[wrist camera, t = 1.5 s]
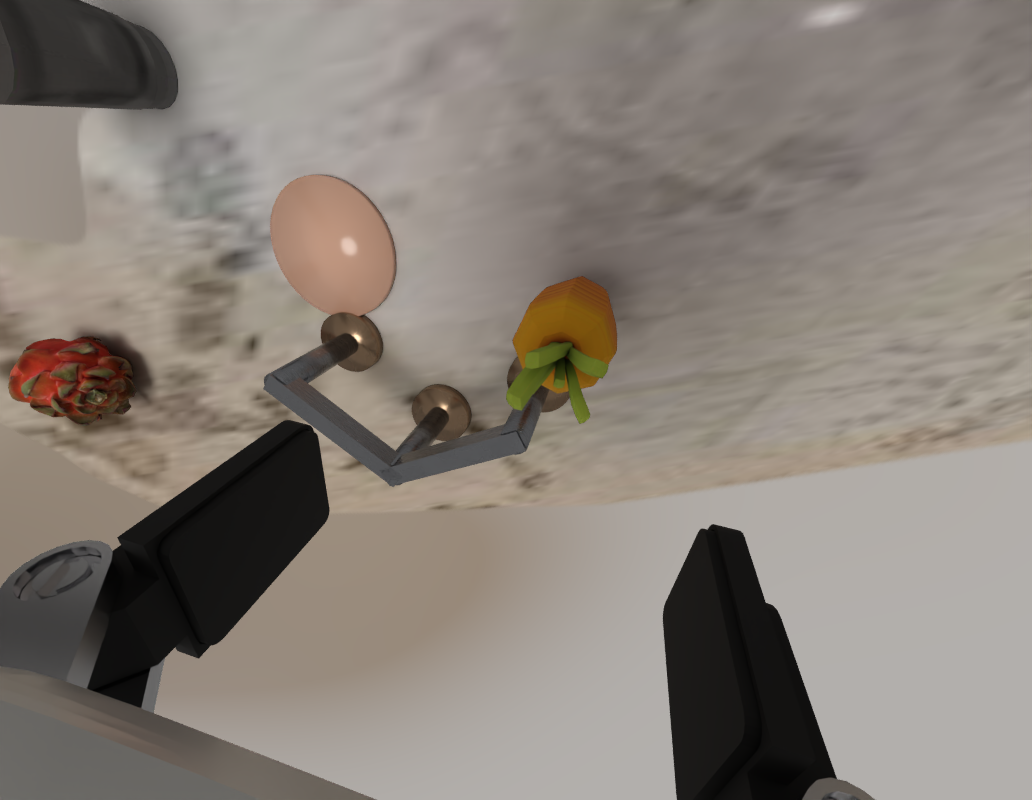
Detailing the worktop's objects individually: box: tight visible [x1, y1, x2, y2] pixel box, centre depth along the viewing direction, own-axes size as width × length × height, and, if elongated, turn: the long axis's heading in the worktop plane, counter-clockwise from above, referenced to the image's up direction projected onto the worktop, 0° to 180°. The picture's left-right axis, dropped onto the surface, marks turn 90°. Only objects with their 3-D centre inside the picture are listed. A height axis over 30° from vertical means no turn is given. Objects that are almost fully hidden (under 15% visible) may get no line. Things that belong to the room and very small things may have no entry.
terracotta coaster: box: [270, 175, 396, 316], centre depth 31 cm, size 10×10×1 cm
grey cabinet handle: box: [263, 312, 570, 487], centre depth 31 cm, size 21×10×9 cm, turn 84°
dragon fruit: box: [8, 336, 136, 426], centre depth 40 cm, size 8×8×12 cm
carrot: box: [506, 276, 617, 424], centre depth 22 cm, size 5×5×15 cm
